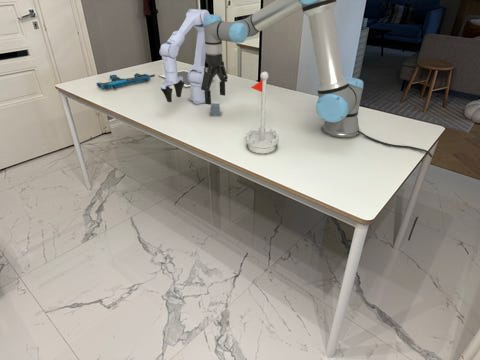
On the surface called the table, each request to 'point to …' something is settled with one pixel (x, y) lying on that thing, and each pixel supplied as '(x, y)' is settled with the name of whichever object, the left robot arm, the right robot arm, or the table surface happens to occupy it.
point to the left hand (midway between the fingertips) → (174, 99)
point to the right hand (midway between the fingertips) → (215, 99)
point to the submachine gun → (124, 81)
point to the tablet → (182, 74)
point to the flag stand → (262, 125)
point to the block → (215, 109)
